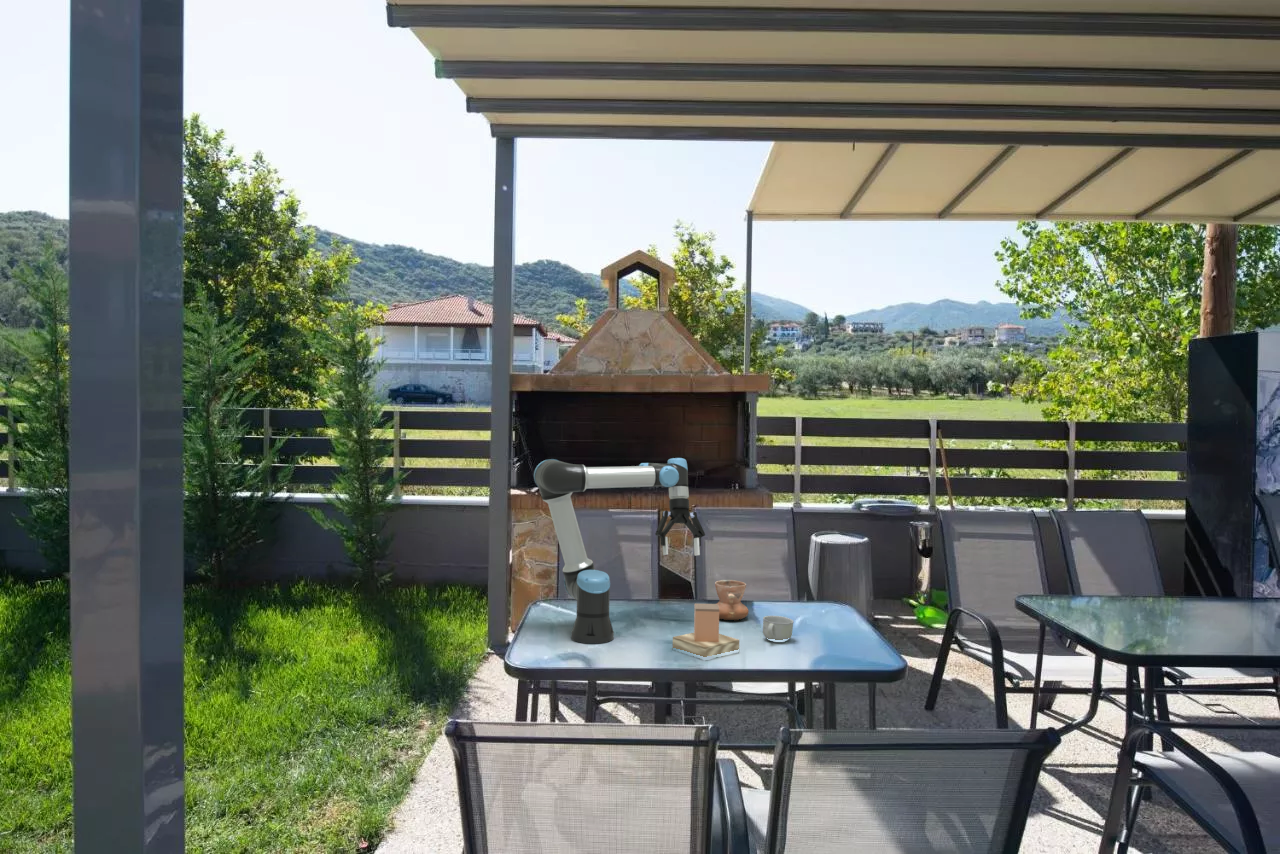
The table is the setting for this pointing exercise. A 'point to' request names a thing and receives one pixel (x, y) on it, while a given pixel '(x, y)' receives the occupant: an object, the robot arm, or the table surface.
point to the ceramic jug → (731, 599)
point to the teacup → (777, 627)
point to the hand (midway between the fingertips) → (681, 555)
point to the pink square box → (706, 622)
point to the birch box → (705, 645)
